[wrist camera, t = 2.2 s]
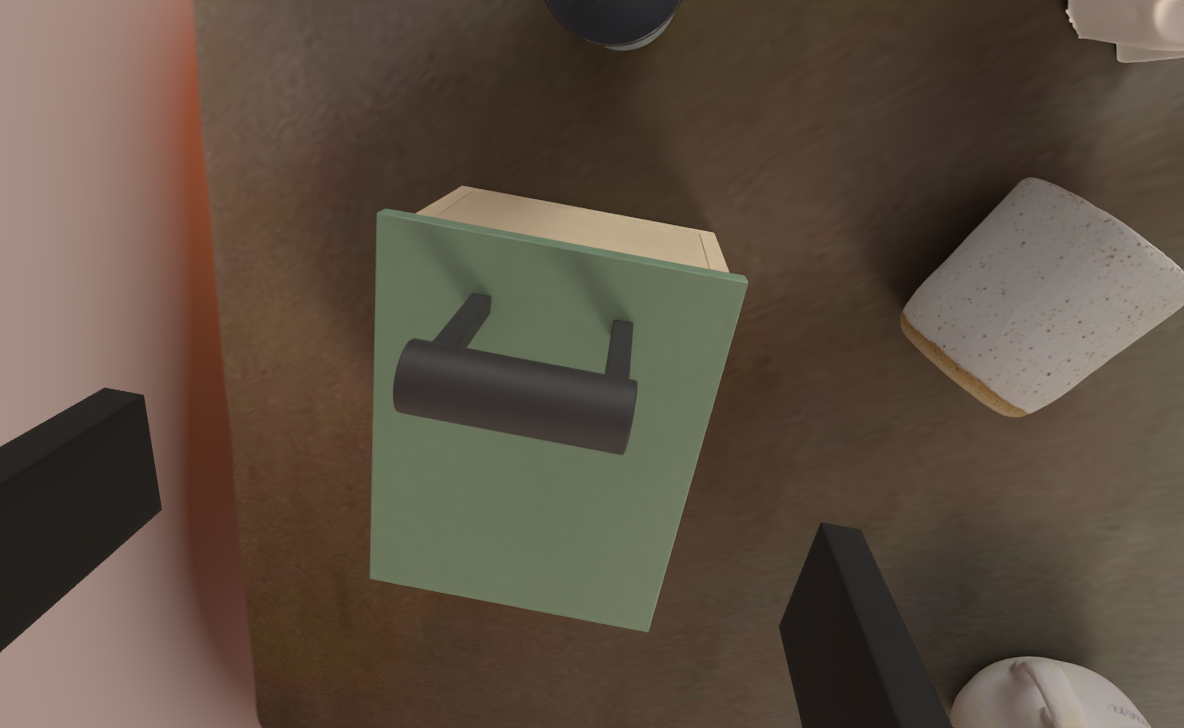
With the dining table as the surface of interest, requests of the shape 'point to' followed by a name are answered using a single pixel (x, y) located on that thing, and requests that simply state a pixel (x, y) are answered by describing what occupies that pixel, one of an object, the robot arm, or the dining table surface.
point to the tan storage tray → (580, 226)
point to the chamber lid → (537, 414)
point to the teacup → (1042, 698)
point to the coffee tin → (615, 20)
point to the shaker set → (1132, 26)
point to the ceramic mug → (1040, 298)
